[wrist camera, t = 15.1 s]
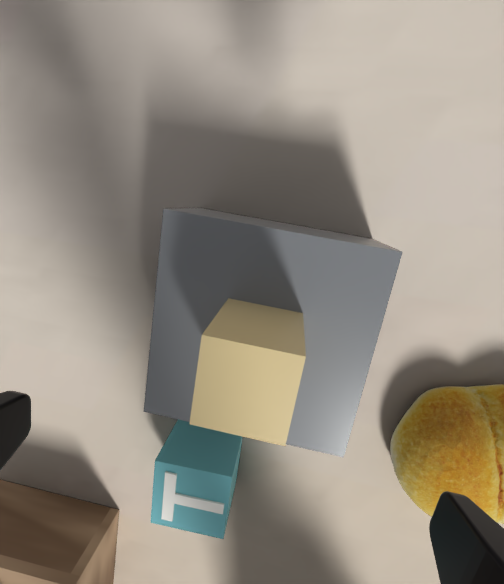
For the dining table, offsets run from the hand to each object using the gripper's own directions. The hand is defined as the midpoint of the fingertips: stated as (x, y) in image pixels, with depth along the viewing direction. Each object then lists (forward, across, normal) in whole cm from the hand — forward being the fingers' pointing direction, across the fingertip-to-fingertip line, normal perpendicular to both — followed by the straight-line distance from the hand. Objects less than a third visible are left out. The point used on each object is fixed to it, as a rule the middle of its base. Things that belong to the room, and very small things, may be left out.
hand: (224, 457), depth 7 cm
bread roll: (+12, -13, +6) cm, 19 cm away
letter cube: (+12, +2, +10) cm, 16 cm away
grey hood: (+12, 0, 0) cm, 12 cm away
